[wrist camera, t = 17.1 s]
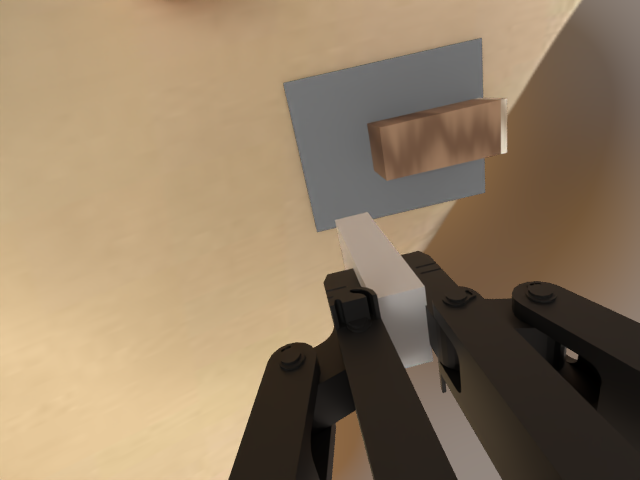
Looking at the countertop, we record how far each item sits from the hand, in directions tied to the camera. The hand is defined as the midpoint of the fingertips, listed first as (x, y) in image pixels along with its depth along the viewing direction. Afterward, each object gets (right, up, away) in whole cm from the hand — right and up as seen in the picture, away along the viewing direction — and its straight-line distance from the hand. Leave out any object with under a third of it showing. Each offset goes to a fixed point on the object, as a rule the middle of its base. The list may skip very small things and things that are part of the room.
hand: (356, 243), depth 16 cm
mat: (+6, +11, +22) cm, 25 cm away
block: (+4, +9, +19) cm, 22 cm away
